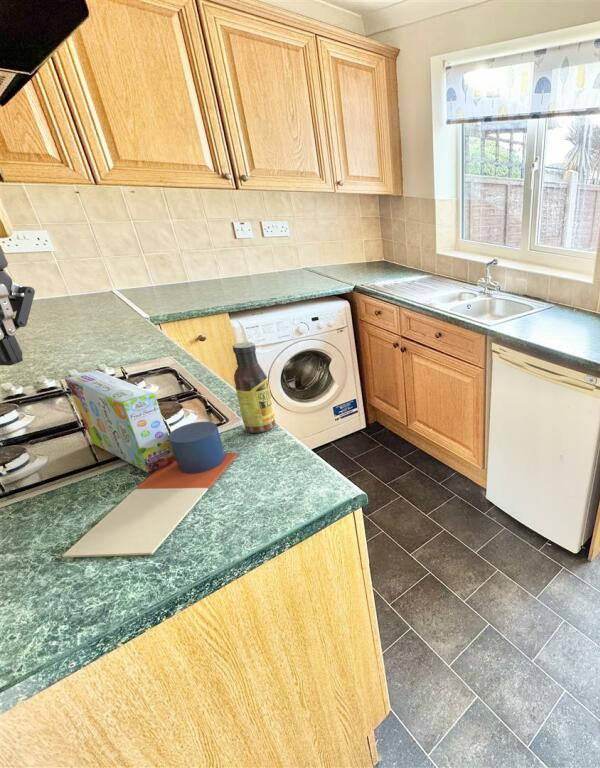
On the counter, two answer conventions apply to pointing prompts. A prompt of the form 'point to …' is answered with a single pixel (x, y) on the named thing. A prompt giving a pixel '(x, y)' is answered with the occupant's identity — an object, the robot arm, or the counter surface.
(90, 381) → the snack box
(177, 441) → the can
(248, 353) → the sauce bottle
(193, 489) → the mat
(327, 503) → the counter surface
